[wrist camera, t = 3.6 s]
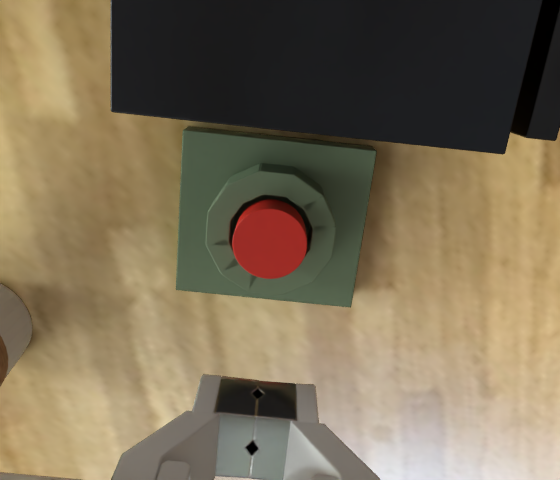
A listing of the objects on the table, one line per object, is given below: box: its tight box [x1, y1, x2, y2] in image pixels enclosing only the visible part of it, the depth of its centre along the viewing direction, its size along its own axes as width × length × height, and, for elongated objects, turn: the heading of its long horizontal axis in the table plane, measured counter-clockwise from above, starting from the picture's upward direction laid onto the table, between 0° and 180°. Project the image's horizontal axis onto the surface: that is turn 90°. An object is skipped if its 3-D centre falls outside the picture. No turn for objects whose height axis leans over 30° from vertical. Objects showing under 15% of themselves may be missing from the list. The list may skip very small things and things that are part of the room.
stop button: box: [232, 199, 307, 279], centre depth 26 cm, size 4×4×2 cm
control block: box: [176, 126, 377, 307], centre depth 28 cm, size 10×9×4 cm
